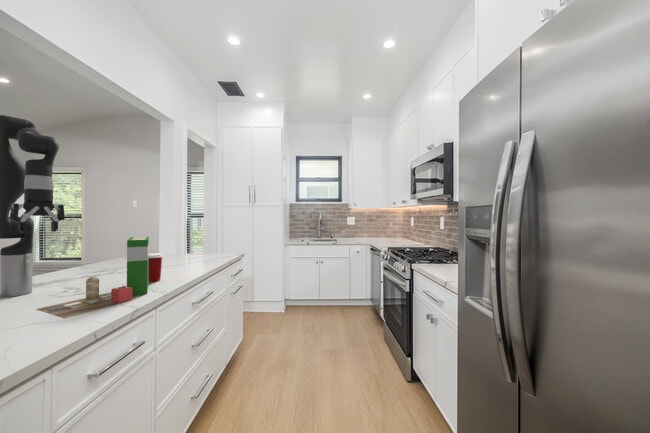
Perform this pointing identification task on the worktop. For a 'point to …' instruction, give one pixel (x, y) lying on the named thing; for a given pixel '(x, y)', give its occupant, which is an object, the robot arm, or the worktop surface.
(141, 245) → the hardback book
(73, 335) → the worktop surface
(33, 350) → the worktop surface
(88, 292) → the birch pawn
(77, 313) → the game board
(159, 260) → the paper cup
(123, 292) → the red die
